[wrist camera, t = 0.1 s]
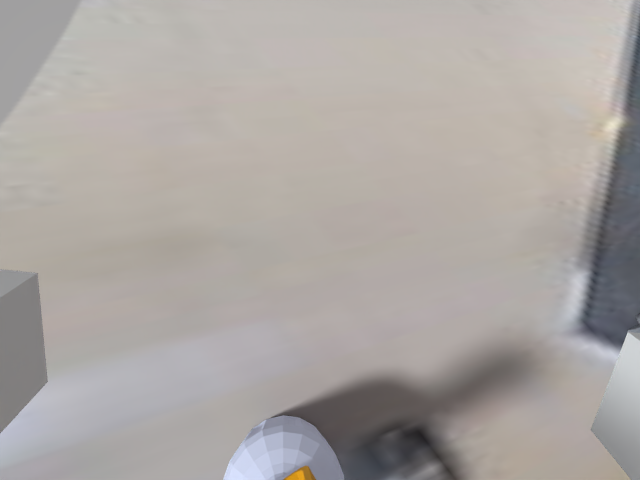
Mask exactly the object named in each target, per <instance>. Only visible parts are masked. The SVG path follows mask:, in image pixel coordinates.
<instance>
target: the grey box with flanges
mask: <svg viewBox="0 0 640 480" xmlns="http://www.w3.org/2000/svg"><path fill="white" fill-rule="evenodd" d="M635 318H636V320H637V321H638V323H639V325H637V326H635V327H633V328H631V329H629V330H627V331H628V332H634V333H640V313H639V314H638V315H637V316H636V317H635Z"/></svg>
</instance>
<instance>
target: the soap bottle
mask: <svg viewBox="0 0 640 480" xmlns="http://www.w3.org/2000/svg"><path fill="white" fill-rule="evenodd" d="M223 480H344V474H343V472H342V469H341V467H340V464H339V461H338V459H337V456H336V454H335V453H334V451H333V450H332V448H331V447H330V445H329V444H328V442H327V441H326V439H325V438H324V437H323V436H322V434H321V433H320V432H319V431H318V430H317V428H316V427H315V426H314V425H312V424H310V423H308V422H307V421H305V420H303V419H301V418H299V417H292V416H285V415H282V416H278V417H274V418H270V419H266V420H265V421H263V422H262V423H260V424H259V425H257V426H256V427H254V428H253V429H252V430H251V431H250V433H249V434H248V435H247V437H246V438H245V439H244V441H243V442H242V443H241V445H240V446H239V448H238V449H237V451H236V452H235V454H234V455H233V457H232V458H231V460H230V462H229V465H228V467H227V470H226V473H225V476H224V479H223Z"/></svg>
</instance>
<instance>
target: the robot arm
mask: <svg viewBox="0 0 640 480" xmlns="http://www.w3.org/2000/svg"><path fill="white" fill-rule="evenodd" d="M47 382H48V381H47V370H46V359H45V348H44V337H43V326H42V316H41V305H40V294H39V283H38V273H32V272H22V271H12V270H2V269H0V433H1V432H2V431H3V430H4V429H5V428H6V427H7V426H8V424H9V423H10V422H11V421H12V420H13V419H14V418H15V417H16V416H17V415H18V413H19V412H20V411H21V410H22V409H23V408H24V407H25V406H26V405H27V404H28V403H29V401H30V400H31V399H32V398H33V397H34V396H35V395H36V394H37V393H38V392H39V391H40V389H41V388H42V387H43V386H44V385H45V384H46V383H47ZM591 431H592V432H593V433H594V434H595V436H596V437H597V438H598V439H599V440H600V442H601V443H602V444H603V445H604V447H605V448H606V449H607V450H608V452H609V453H610V454H611V455H612V456H613V458H614V459H615V460H616V461H617V463H618V464H619V465H620V466H621V468H622V469H623V470H624V471H625V472H626V474H627V475H628V476H629V477H630V479H631V480H640V333H634V332H628V333H627V336H626V338H625V341H624V344H623V346H622V349H621V352H620V354H619V357H618V360H617V362H616V365H615V367H614V370H613V373H612V375H611V378H610V381H609V383H608V386H607V388H606V391H605V394H604V396H603V399H602V402H601V404H600V407H599V409H598V412H597V415H596V417H595V420H594V423H593V425H592V428H591Z"/></svg>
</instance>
